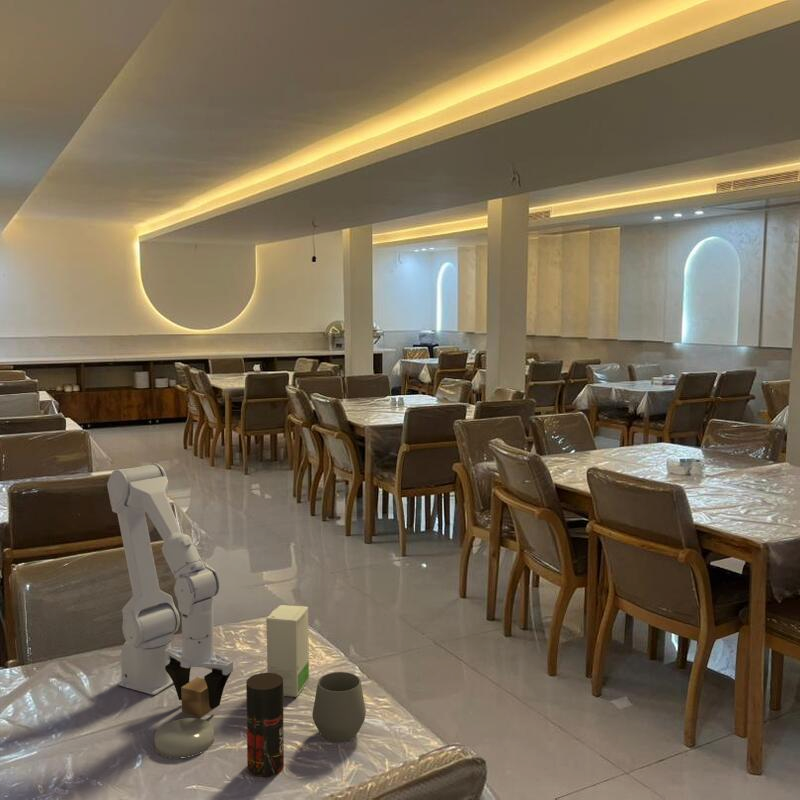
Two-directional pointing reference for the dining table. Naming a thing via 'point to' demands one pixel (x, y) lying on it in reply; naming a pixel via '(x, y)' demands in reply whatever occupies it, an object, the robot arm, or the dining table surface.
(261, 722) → the deodorant
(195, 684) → the walnut block
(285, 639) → the skincare box
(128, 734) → the dining table surface
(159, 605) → the robot arm
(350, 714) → the cup
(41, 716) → the dining table surface
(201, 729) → the khaki round plate
